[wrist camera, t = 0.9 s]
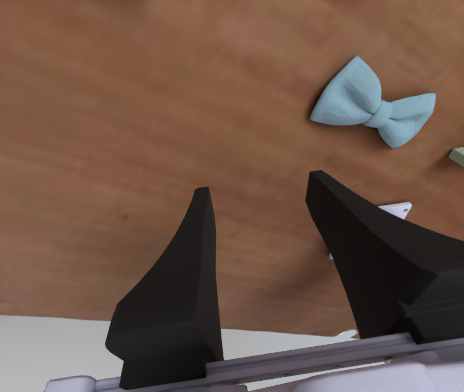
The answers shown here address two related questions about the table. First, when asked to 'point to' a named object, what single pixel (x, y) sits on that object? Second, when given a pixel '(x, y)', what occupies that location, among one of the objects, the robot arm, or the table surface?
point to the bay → (457, 155)
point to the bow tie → (371, 105)
